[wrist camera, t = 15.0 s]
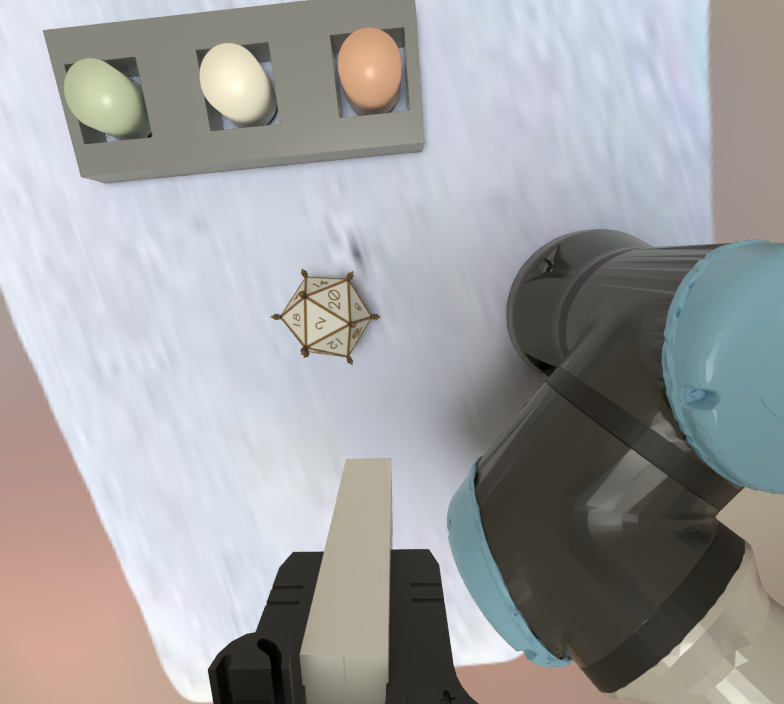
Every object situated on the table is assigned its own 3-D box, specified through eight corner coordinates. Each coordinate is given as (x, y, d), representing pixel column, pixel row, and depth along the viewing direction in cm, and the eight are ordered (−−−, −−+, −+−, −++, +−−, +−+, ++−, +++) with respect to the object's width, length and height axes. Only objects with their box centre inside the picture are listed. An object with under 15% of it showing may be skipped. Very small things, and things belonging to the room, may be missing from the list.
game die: (324, 295, 43) (272, 242, 34) (396, 300, 40) (360, 244, 31) (301, 372, 41) (239, 337, 32) (376, 384, 38) (331, 349, 29)
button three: (398, 49, 33) (398, 23, 30) (403, 114, 35) (404, 97, 31) (340, 56, 34) (333, 31, 30) (347, 120, 35) (341, 103, 31)
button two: (148, 76, 34) (118, 54, 30) (161, 139, 35) (134, 125, 32) (92, 82, 34) (56, 61, 31) (107, 144, 35) (74, 131, 32)
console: (412, 5, 33) (413, -19, 30) (421, 151, 36) (424, 142, 33) (71, 43, 34) (41, 23, 31) (105, 183, 37) (81, 176, 34)
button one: (272, 63, 34) (257, 39, 30) (281, 126, 35) (267, 111, 31) (215, 69, 34) (193, 46, 30) (226, 132, 35) (206, 118, 31)
